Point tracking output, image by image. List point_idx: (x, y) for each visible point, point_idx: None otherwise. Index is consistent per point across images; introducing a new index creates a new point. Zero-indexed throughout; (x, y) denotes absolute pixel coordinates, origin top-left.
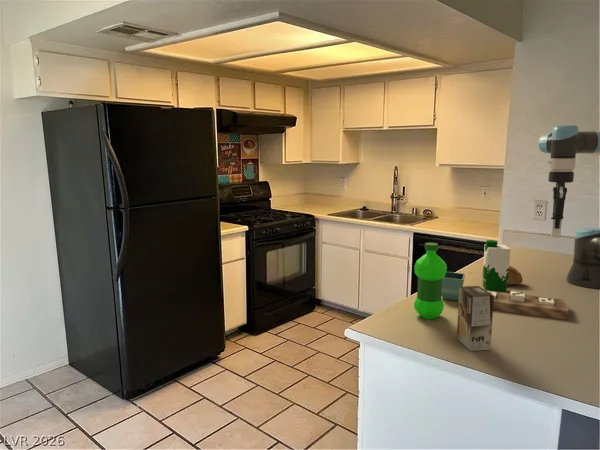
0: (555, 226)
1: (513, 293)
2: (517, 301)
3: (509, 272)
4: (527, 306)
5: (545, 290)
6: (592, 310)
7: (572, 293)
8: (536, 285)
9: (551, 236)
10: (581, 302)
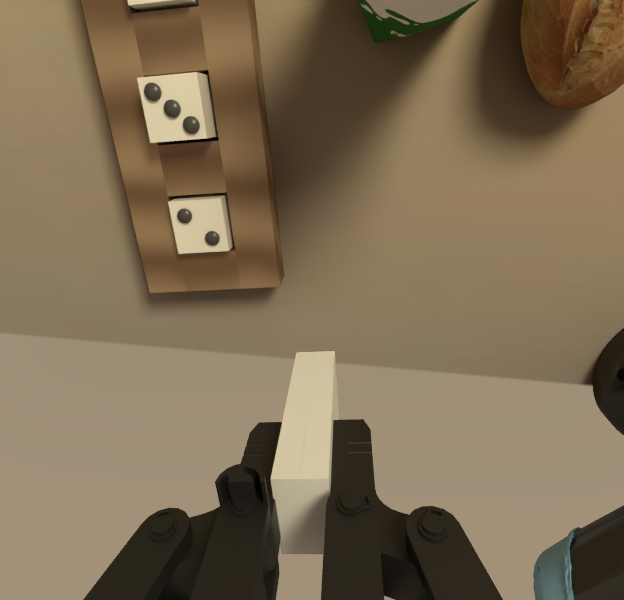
0: (248, 442)
1: (155, 90)
2: None
3: (546, 27)
4: (119, 156)
5: (497, 215)
6: None
7: (490, 311)
8: (572, 177)
9: (305, 354)
10: (381, 332)
